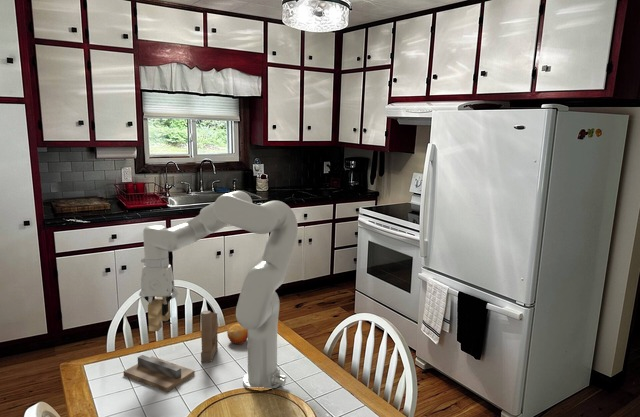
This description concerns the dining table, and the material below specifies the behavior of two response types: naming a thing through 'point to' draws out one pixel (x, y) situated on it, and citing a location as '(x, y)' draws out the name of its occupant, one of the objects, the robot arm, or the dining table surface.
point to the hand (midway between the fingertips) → (159, 313)
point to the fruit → (237, 334)
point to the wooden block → (208, 335)
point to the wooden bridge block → (157, 314)
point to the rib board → (158, 373)
